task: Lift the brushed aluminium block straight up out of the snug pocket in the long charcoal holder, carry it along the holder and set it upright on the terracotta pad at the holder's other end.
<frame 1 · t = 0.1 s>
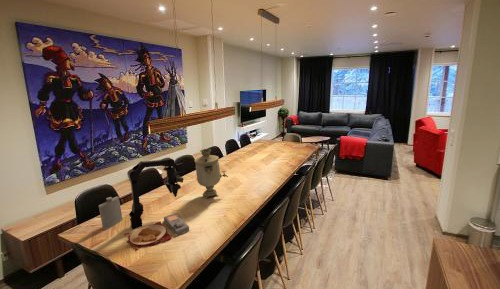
hand: (173, 194, 195), 14 cm above the table, fingers open, 9 cm apart
plate with food: (147, 238, 168), on the table
samovar: (213, 195, 226), on the table
aluminium block: (179, 229, 175), resting in parts holder
hip flask: (113, 224, 186), on the table
parts holder: (176, 225, 180), on the table
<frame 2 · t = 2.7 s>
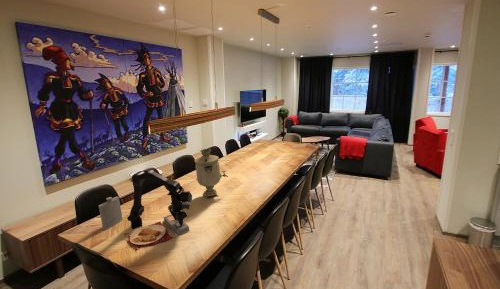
hand: (178, 222, 174), 5 cm above the table, fingers open, 9 cm apart
nothing on the table moved.
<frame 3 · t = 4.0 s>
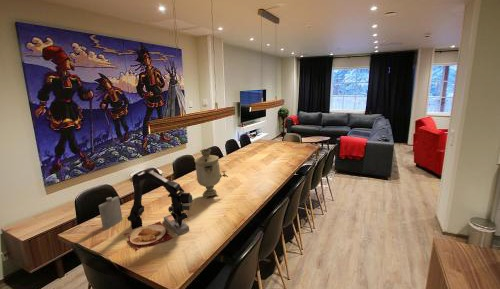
hand: (179, 224, 174), 4 cm above the table, fingers closed on aluminium block, 4 cm apart
aluminium block: (179, 229, 175), resting in parts holder, touching gripper
everything else where it was.
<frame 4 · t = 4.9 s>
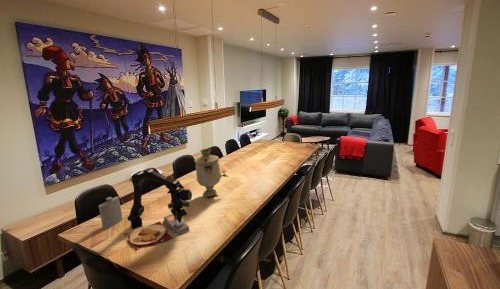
hand: (178, 221, 174), 6 cm above the table, fingers closed on aluminium block, 4 cm apart
aluminium block: (179, 225, 174), point 2 cm above the table, touching gripper
everything else where it was.
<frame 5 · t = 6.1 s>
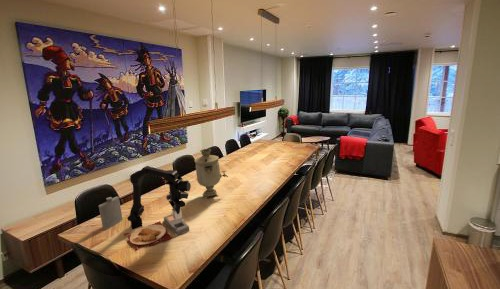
hand: (177, 212, 173), 12 cm above the table, fingers closed on aluminium block, 4 cm apart
aluminium block: (177, 217, 174), point 8 cm above the table, touching gripper
everything else where it was.
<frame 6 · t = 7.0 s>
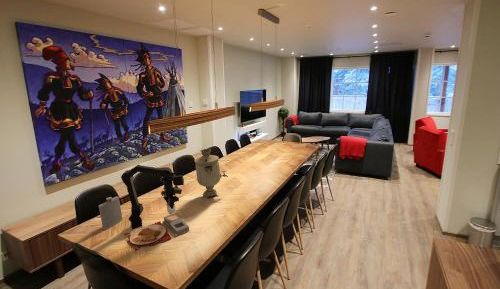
hand: (171, 207, 182), 11 cm above the table, fingers closed on aluminium block, 4 cm apart
aluminium block: (171, 212, 183), point 8 cm above the table, touching gripper
everything else where it was.
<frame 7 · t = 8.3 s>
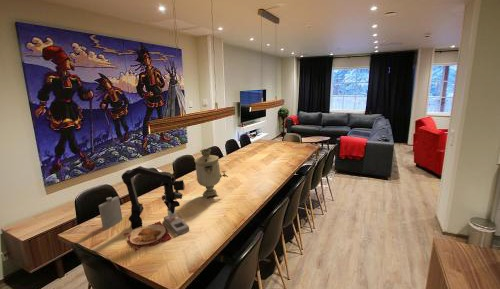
hand: (171, 212, 183), 8 cm above the table, fingers closed on aluminium block, 4 cm apart
aluminium block: (172, 216, 184), point 4 cm above the table, touching gripper
everything else where it was.
when the fingers open (8 cm above the table, at t = 8.3 s): aluminium block stays where it is, resting on parts holder.
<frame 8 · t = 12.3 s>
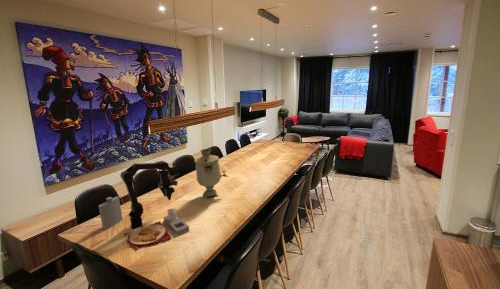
hand: (167, 198, 194), 12 cm above the table, fingers open, 9 cm apart
aluminium block: (172, 218, 184), point 3 cm above the table, touching parts holder
everything else where it was.
at the end: aluminium block 0.0 cm from the target spot on the parts holder, point 3.2 cm above the parts holder's base; aluminium block tilted 0°; the gripper is holding nothing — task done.
